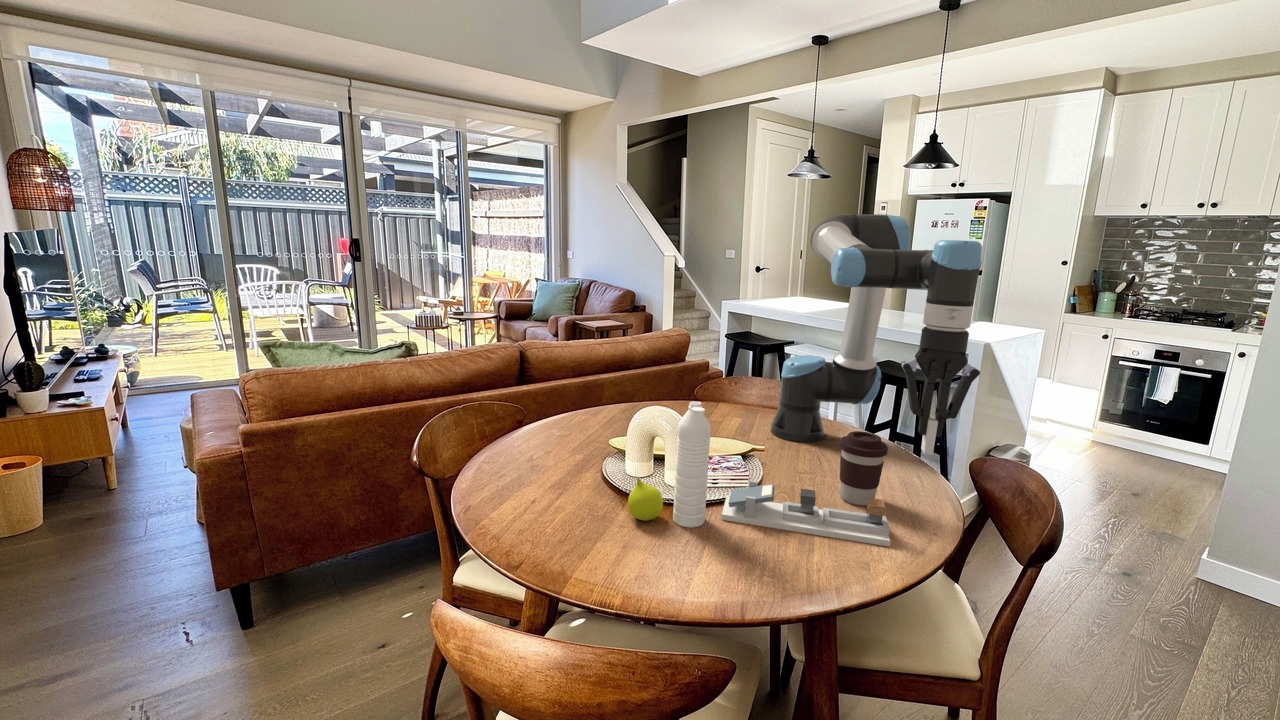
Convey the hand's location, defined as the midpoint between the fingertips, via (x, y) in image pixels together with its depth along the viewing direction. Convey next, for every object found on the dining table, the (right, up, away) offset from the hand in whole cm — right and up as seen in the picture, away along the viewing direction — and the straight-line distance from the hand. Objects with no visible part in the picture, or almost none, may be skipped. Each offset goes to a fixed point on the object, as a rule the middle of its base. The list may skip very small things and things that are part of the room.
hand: (926, 451), depth 106 cm
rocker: (-31, -11, +11) cm, 35 cm away
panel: (-21, -16, +9) cm, 28 cm away
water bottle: (-44, -16, +7) cm, 47 cm away
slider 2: (-8, -16, +5) cm, 18 cm away
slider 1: (-20, -15, +9) cm, 26 cm away
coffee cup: (-5, -14, +20) cm, 25 cm away
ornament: (-53, -15, +9) cm, 56 cm away
